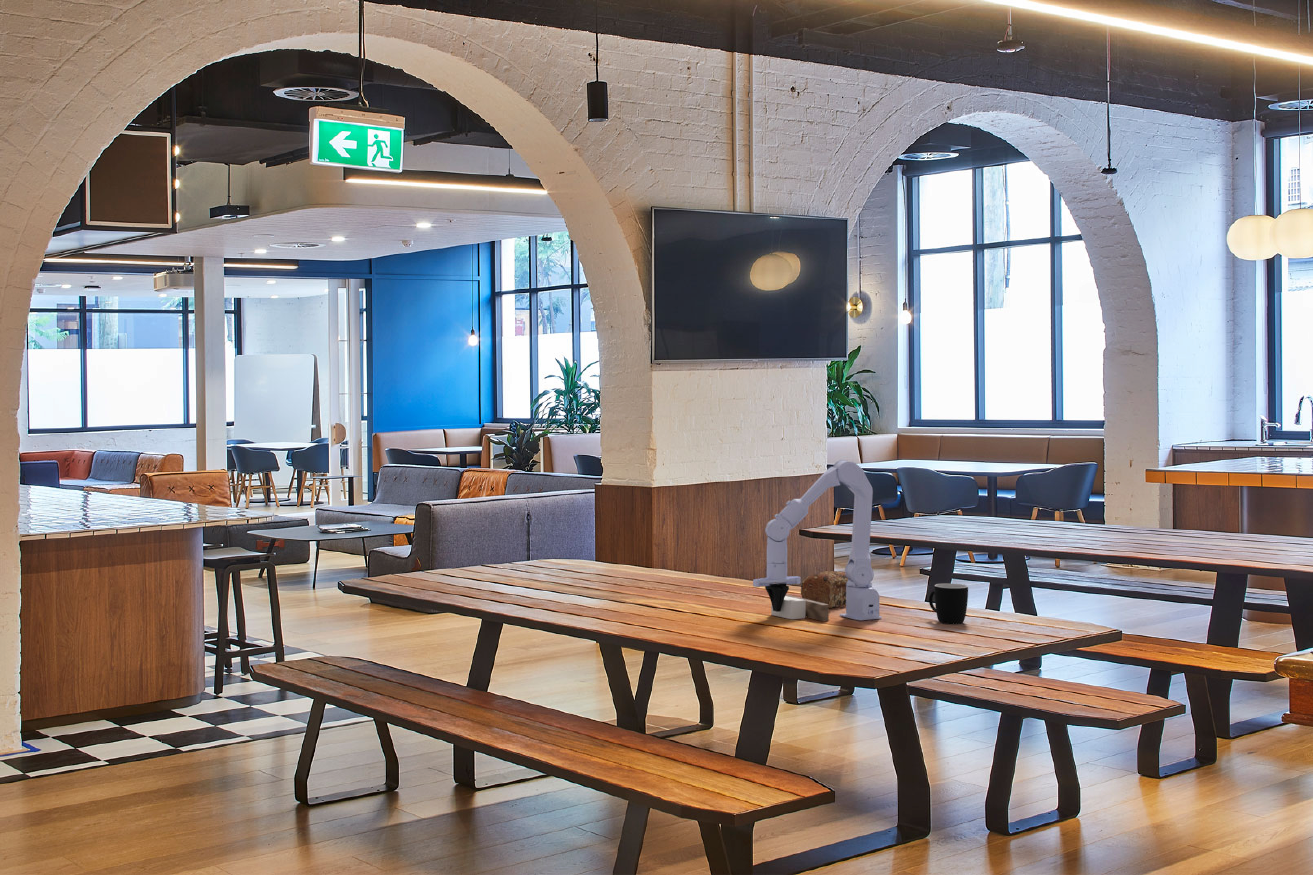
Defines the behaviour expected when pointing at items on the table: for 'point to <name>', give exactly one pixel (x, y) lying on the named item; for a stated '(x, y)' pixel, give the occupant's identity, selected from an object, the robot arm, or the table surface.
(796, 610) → the block
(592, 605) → the table surface
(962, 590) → the mug
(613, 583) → the table surface
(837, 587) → the bread
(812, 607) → the board
